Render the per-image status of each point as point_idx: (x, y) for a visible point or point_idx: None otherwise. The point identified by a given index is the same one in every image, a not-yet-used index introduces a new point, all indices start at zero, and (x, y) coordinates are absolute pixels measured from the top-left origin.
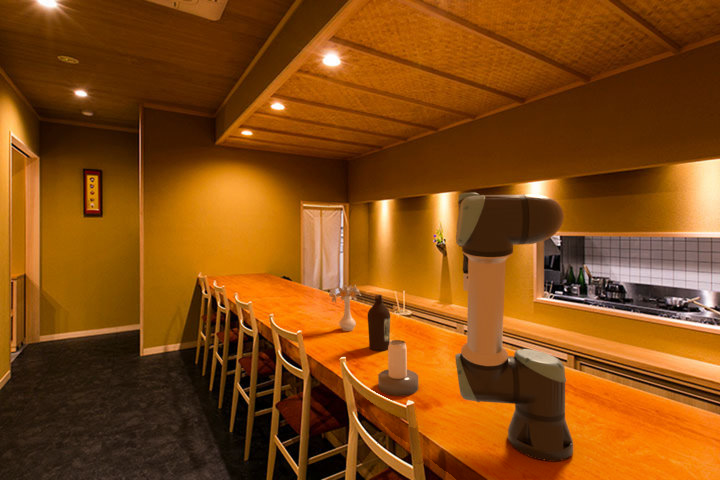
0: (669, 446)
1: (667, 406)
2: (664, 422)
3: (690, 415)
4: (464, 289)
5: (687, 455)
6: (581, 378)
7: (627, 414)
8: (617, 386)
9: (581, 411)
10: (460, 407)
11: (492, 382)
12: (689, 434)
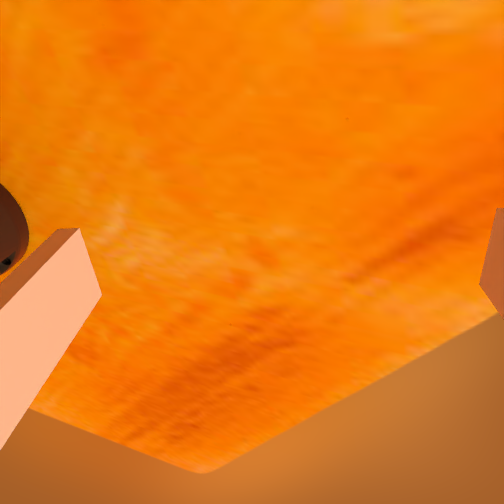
0: (70, 393)
1: (218, 444)
2: (152, 418)
3: (191, 454)
4: (501, 223)
5: (53, 400)
6: (333, 375)
7: (163, 386)
8: (296, 416)
9: (148, 325)
10: (52, 45)
11: None
12: (122, 427)
